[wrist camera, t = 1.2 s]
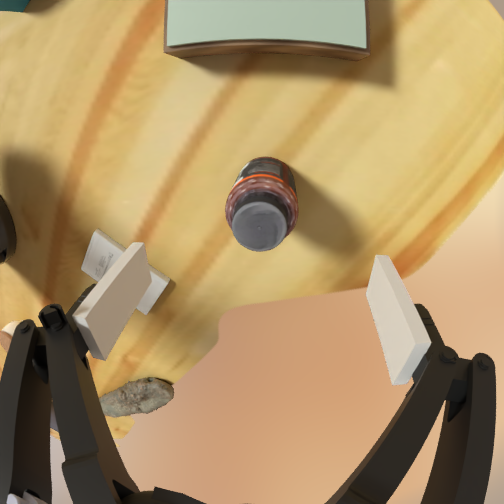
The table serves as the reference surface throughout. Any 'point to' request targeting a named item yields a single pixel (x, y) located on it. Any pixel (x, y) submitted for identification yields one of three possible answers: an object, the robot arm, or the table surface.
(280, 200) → the supplement bottle
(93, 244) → the external hard drive
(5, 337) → the lidded jar
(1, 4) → the camera mount
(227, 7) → the walnut stand
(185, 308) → the table surface
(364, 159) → the table surface
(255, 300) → the table surface
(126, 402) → the elongated rock
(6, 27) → the table surface
